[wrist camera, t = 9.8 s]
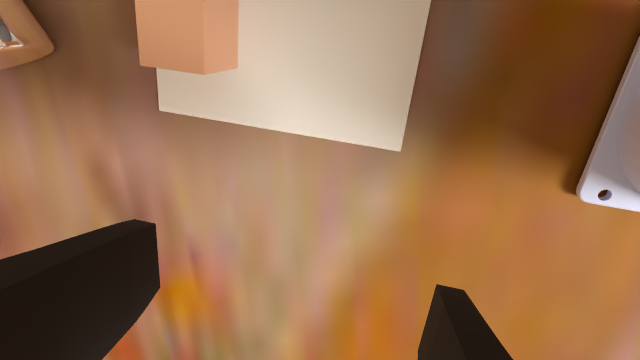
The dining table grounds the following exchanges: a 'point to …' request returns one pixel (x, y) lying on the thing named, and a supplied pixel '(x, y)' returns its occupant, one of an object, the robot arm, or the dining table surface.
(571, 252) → the dining table surface
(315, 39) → the lid
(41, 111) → the dining table surface
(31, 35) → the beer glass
